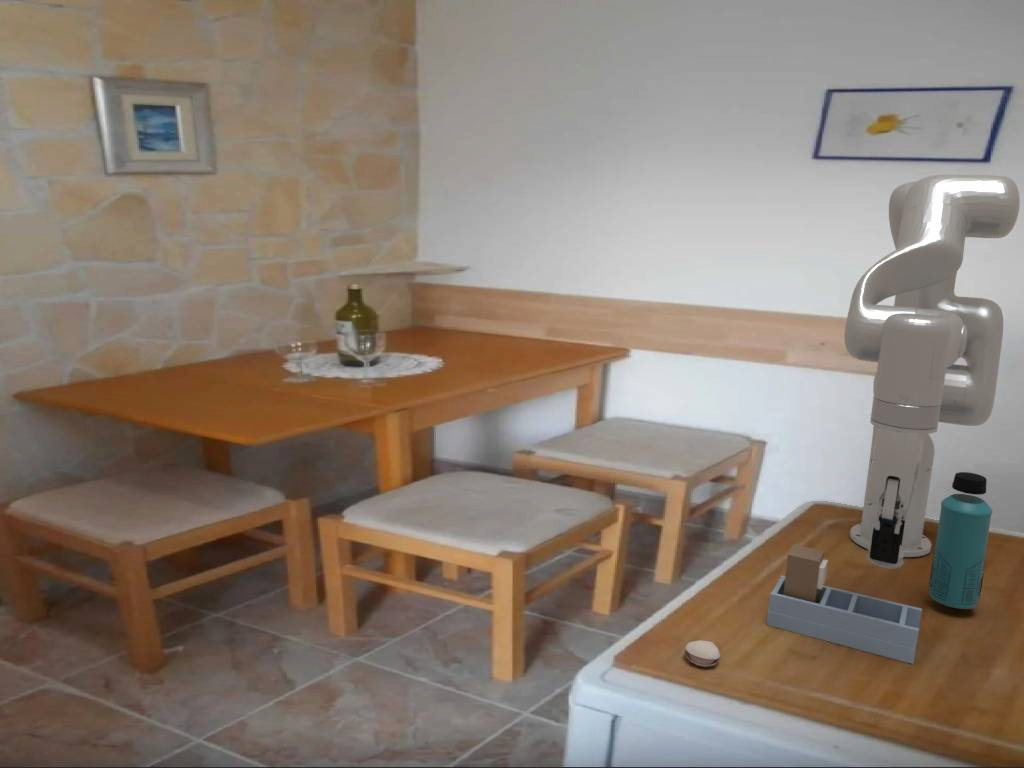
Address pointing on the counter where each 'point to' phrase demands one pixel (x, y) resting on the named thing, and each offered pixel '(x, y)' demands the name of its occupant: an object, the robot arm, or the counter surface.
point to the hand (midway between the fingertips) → (885, 552)
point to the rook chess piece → (885, 564)
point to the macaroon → (702, 653)
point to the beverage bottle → (961, 544)
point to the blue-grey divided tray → (840, 611)
